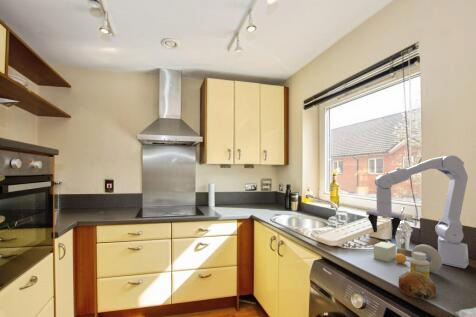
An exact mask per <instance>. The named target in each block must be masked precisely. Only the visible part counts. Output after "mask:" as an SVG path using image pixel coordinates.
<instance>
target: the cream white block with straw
mask: <svg viewBox="0 0 476 317" xmlns="http://www.w3.org/2000/svg"><path fill="white" fill-rule="evenodd" d="M404 210H405V206H403V207H402V208H401V210H400V212H401V213H400V214H404ZM411 227H412V226H410V224H409V222H407V221H405V220H404V219H402V220H401V222H400V224H399V226H398V228H397V232H396V235H395V244H396V249H397V248H399V249H404V250H409V249H410V241H411V236H412V232H414V231H413V230H414V229H413V228H411Z"/></svg>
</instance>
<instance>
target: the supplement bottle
mask: <svg viewBox="0 0 476 317" xmlns="http://www.w3.org/2000/svg"><path fill="white" fill-rule="evenodd" d="M412 256H413V258H411V259H410V261H409V264H410V270H409V271H410V272H419V273H421V274H423V275H425V276H427V277H428V278H430V272H429V261H428V260H427V259H428V257H426V254H425V253H422V252H412ZM412 256H411V257H412ZM426 258H427V259H426Z"/></svg>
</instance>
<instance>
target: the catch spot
mask: <svg viewBox="0 0 476 317" xmlns="http://www.w3.org/2000/svg"><path fill="white" fill-rule="evenodd" d="M405 257H406V259H407V260H406V262H410V259H411V258H412V256H408V255H405Z"/></svg>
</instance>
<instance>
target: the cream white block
mask: <svg viewBox="0 0 476 317" xmlns="http://www.w3.org/2000/svg"><path fill="white" fill-rule="evenodd" d="M396 254H397V246H396V243H395V244H394V243H390V242H387V241H380V242H378V243H376V244H374V245H373V259H376V260H380V261H384V262H388V263H389V262H391V261H392V260H394V259H395V256H396Z"/></svg>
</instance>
